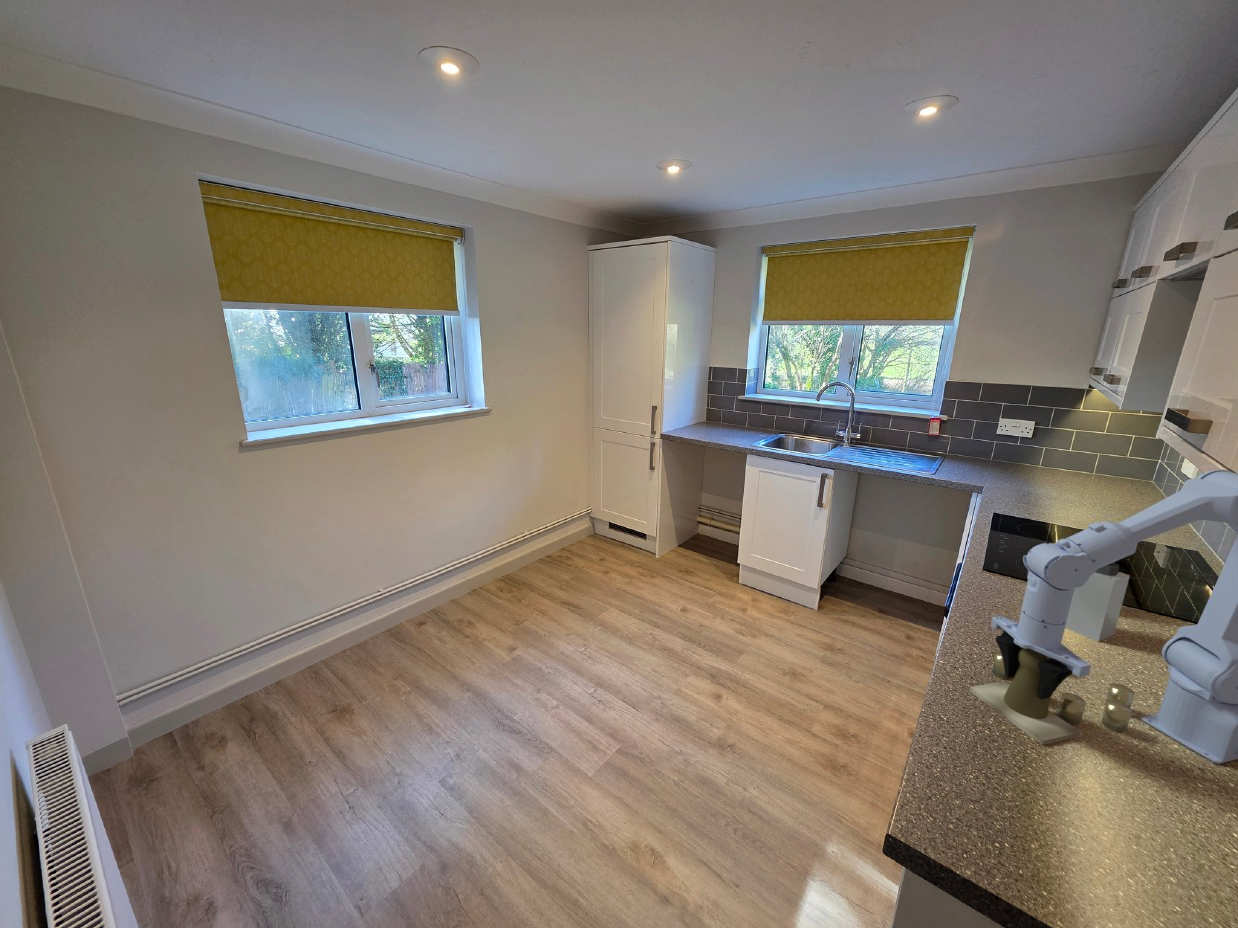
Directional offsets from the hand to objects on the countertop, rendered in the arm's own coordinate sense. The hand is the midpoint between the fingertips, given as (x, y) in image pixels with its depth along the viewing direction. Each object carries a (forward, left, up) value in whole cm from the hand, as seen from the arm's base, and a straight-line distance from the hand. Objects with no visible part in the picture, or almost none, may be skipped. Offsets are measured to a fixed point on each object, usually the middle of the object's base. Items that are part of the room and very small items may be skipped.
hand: (1026, 686), depth 84 cm
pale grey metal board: (0, 0, -5) cm, 5 cm away
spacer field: (+3, -12, -5) cm, 13 cm away
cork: (0, -1, -4) cm, 5 cm away
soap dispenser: (+18, -40, -6) cm, 44 cm away
